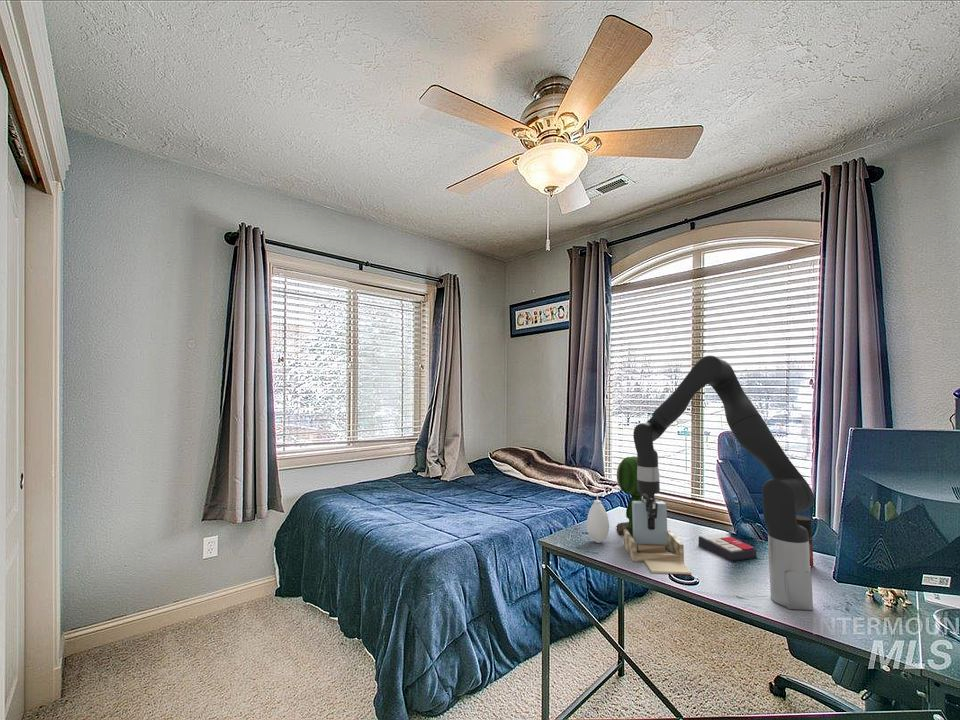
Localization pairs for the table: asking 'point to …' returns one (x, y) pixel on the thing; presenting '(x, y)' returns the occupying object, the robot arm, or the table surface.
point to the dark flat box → (727, 546)
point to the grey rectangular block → (641, 524)
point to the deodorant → (807, 524)
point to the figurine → (628, 490)
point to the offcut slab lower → (655, 552)
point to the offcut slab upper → (650, 548)
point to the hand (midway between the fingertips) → (649, 527)
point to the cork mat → (667, 567)
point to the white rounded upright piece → (597, 522)
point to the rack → (673, 545)
